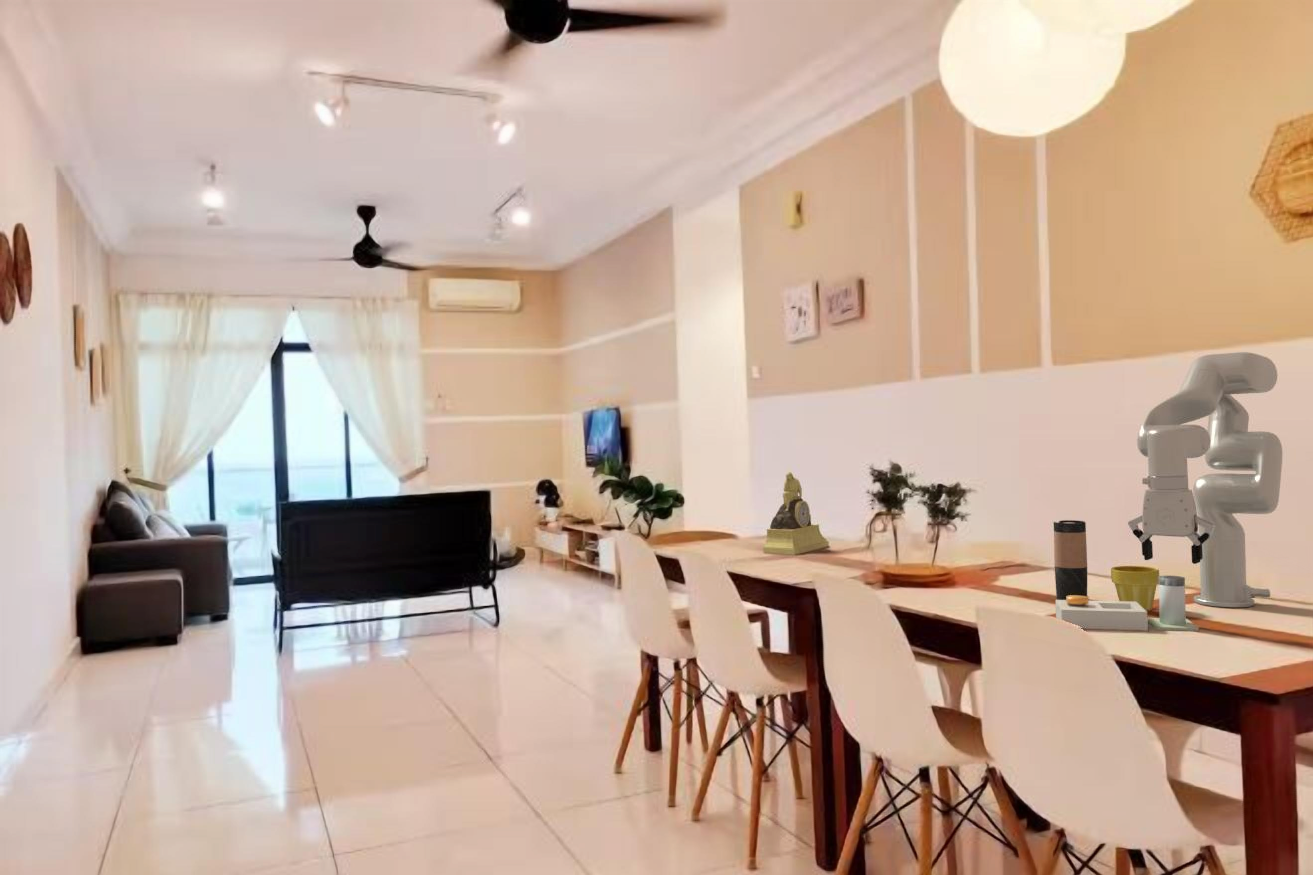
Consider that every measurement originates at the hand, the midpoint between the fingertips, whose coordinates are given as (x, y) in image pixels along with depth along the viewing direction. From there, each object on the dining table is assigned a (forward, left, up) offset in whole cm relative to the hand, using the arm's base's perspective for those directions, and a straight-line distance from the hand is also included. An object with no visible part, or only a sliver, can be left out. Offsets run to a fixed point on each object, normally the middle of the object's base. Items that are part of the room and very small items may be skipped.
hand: (1172, 560), depth 201 cm
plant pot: (+4, -18, -14) cm, 23 cm away
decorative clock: (+103, -121, -15) cm, 159 cm away
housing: (+15, +1, -14) cm, 21 cm away
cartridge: (0, +1, -14) cm, 14 cm away
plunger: (+19, +1, -12) cm, 23 cm away
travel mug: (+17, -28, -14) cm, 36 cm away
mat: (0, +1, -14) cm, 14 cm away
